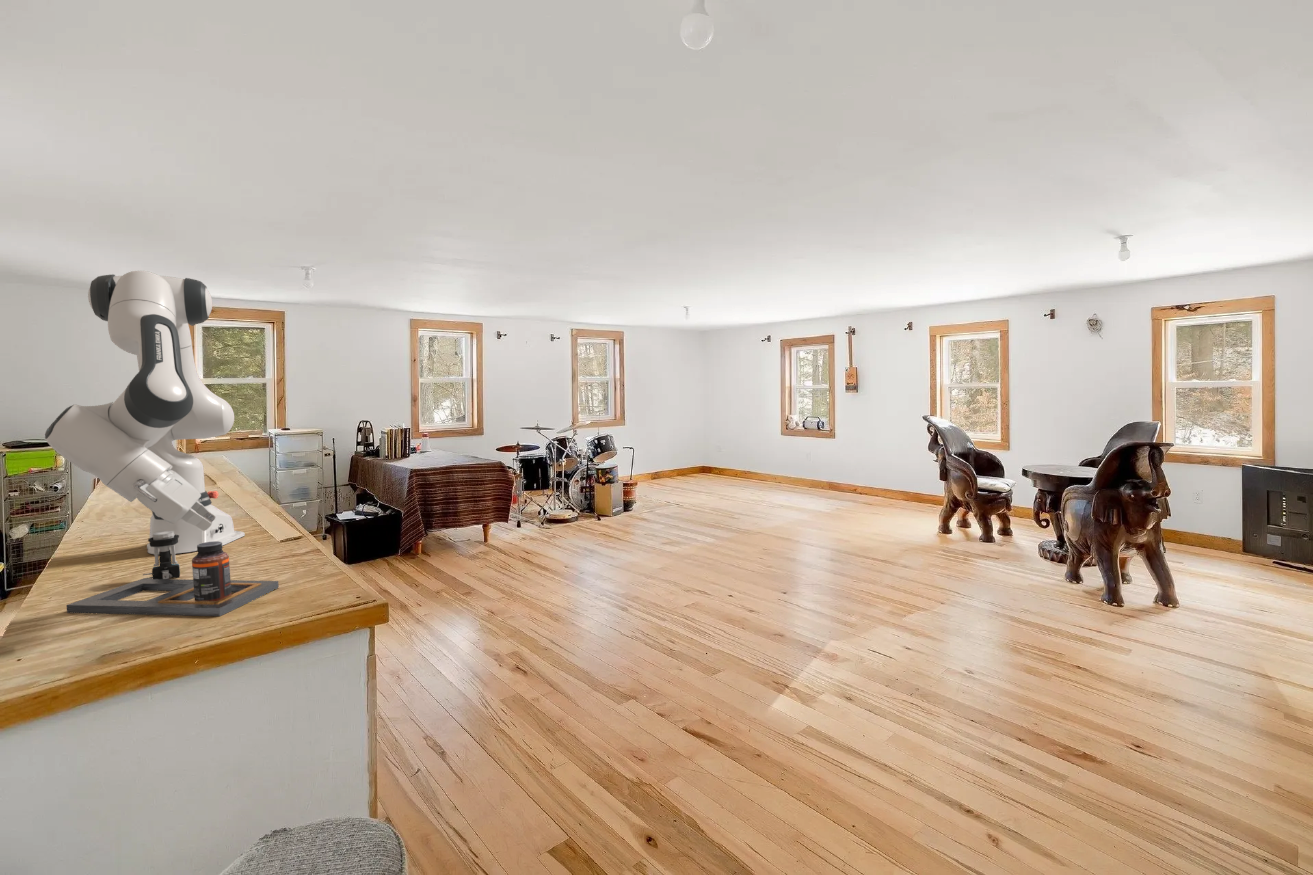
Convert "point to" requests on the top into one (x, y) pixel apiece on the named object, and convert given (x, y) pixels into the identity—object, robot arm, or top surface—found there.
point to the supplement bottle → (211, 572)
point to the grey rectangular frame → (170, 598)
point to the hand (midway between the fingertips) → (211, 524)
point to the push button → (164, 555)
